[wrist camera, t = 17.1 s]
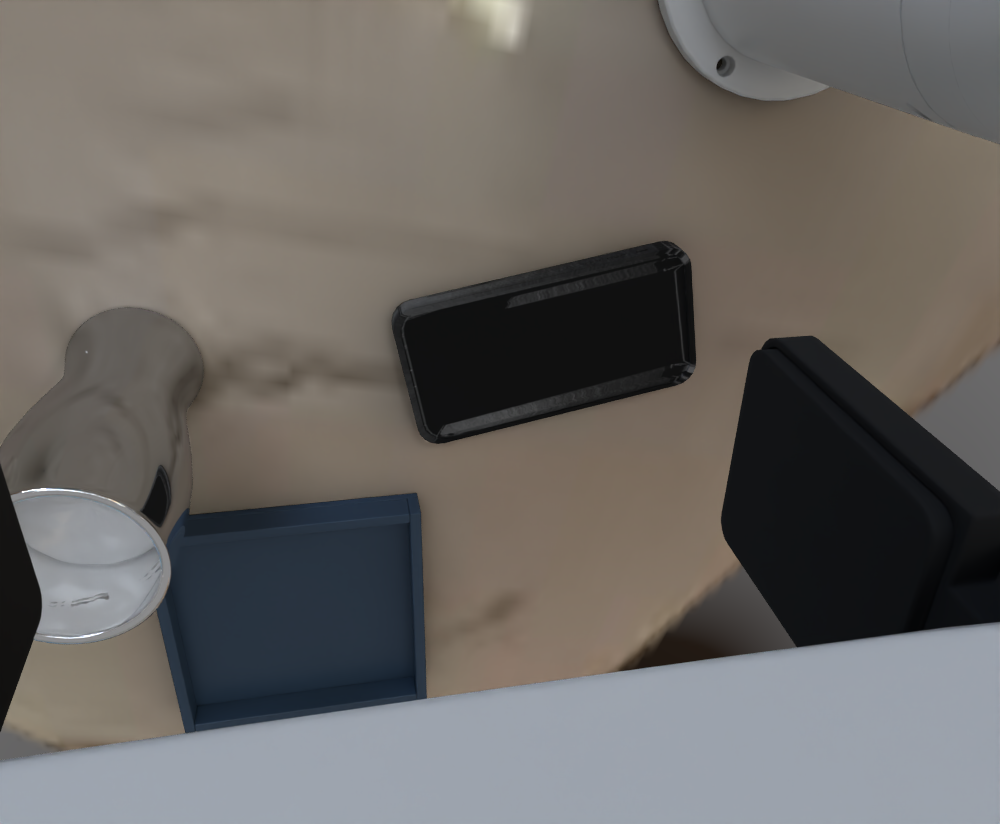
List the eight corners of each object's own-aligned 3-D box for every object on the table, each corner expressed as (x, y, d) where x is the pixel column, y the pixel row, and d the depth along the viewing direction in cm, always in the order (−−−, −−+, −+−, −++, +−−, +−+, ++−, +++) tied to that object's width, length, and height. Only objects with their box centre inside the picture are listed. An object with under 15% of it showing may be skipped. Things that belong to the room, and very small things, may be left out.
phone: (696, 380, 47) (422, 448, 45) (688, 370, 48) (420, 437, 46) (690, 241, 42) (388, 312, 41) (681, 234, 43) (386, 303, 42)
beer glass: (227, 318, 41) (196, 505, 28) (197, 441, 44) (157, 660, 31) (67, 279, 39) (-45, 464, 26) (46, 412, 42) (-64, 636, 29)
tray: (417, 492, 48) (421, 513, 47) (423, 676, 55) (426, 699, 54) (145, 519, 46) (140, 541, 44) (188, 708, 53) (185, 733, 51)
